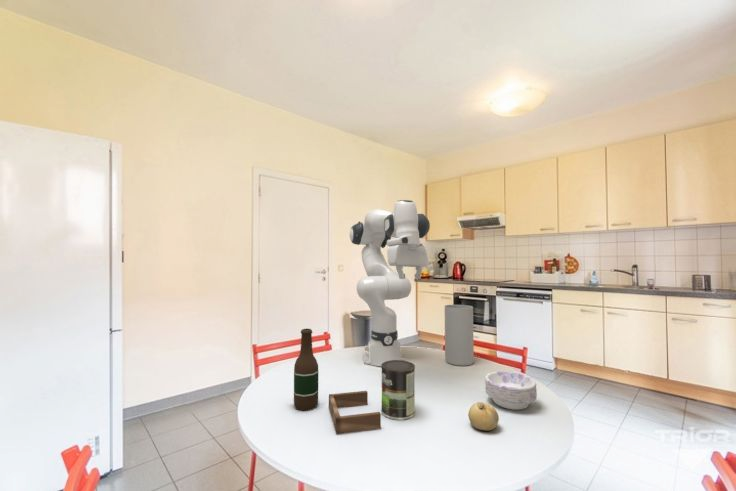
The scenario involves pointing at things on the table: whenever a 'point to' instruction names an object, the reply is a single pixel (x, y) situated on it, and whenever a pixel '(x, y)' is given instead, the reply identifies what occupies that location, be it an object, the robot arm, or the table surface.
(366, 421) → the caddy
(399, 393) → the coffee can
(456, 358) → the cylinder vase
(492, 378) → the paper bowls
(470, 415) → the onion
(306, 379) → the beer bottle
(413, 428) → the table surface
